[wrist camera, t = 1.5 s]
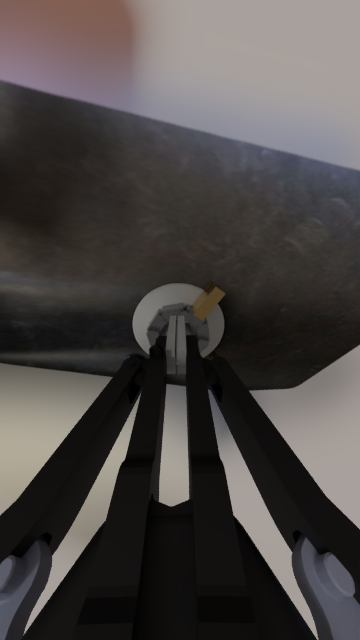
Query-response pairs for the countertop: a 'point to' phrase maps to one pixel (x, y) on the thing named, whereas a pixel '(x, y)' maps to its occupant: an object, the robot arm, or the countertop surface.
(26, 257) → the countertop surface
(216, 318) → the housing
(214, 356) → the stop pin
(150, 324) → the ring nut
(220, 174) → the countertop surface
